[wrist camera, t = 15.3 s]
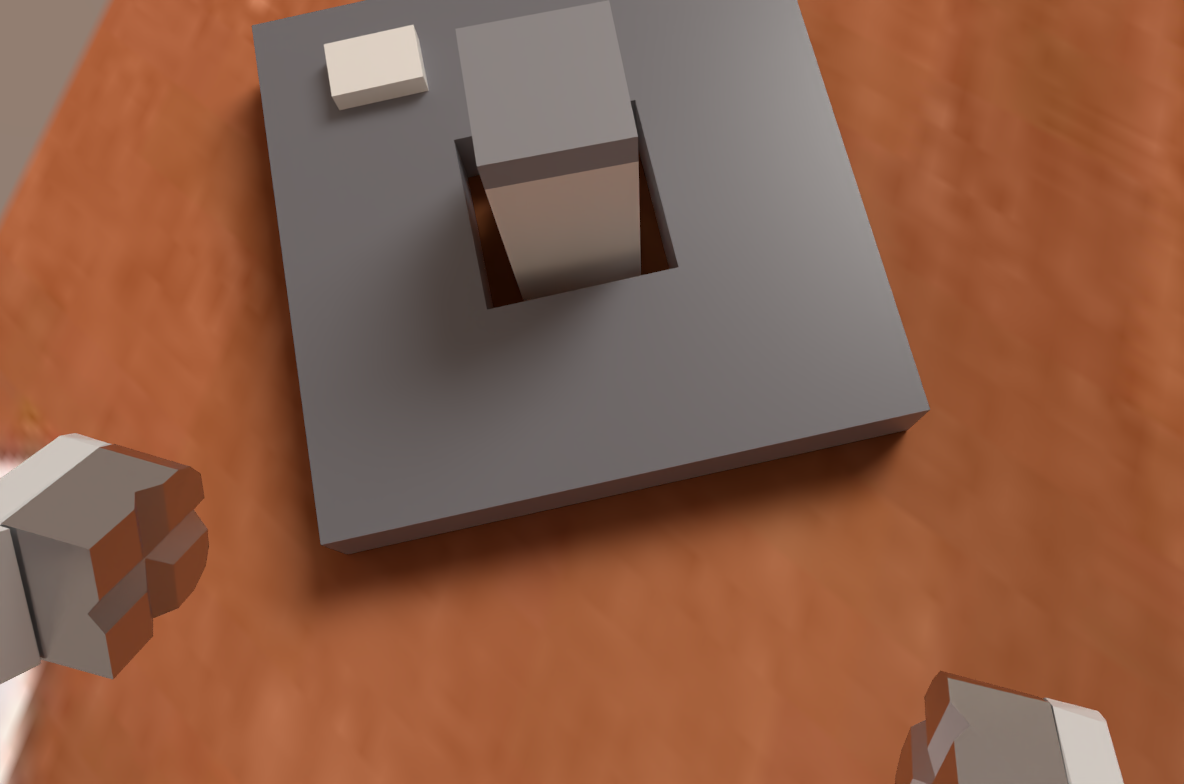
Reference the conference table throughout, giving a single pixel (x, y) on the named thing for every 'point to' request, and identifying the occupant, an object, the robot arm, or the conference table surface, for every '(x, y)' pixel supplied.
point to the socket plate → (580, 317)
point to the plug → (556, 146)
